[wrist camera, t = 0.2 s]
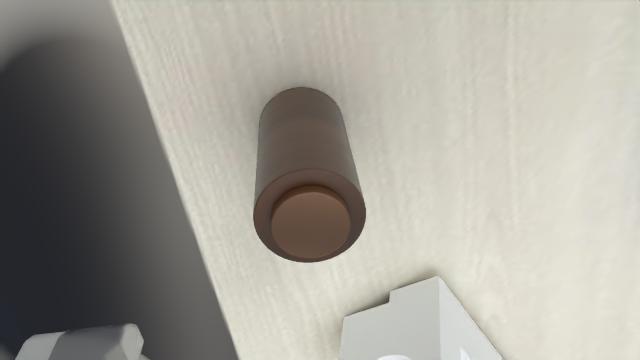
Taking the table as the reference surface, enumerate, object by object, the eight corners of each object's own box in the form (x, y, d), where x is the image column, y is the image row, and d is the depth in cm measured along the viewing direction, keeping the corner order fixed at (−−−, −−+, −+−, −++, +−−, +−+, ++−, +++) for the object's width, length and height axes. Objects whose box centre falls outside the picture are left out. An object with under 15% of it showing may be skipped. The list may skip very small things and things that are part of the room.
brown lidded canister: (251, 94, 29) (241, 186, 21) (338, 80, 29) (362, 168, 21) (267, 169, 31) (264, 279, 23) (347, 157, 31) (373, 263, 23)
